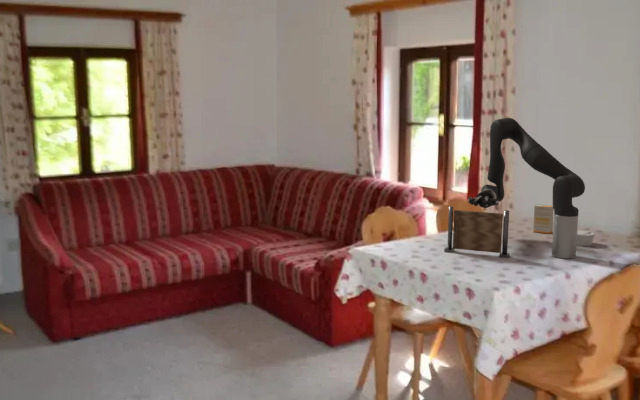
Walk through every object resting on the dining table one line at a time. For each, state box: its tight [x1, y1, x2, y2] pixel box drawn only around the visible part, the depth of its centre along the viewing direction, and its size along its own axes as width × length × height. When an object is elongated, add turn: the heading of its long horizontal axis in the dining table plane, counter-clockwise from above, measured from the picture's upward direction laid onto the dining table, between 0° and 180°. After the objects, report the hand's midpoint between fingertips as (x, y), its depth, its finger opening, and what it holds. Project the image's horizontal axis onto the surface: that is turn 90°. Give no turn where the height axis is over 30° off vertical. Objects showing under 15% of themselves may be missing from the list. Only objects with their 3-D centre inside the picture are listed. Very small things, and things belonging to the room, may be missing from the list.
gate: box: [452, 209, 504, 254], centre depth 274 cm, size 19×2×16 cm, turn 66°
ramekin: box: [576, 229, 596, 247], centre depth 294 cm, size 11×11×5 cm
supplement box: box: [532, 203, 554, 235], centre depth 318 cm, size 8×5×13 cm, turn 57°
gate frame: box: [443, 206, 511, 259], centre depth 274 cm, size 26×4×19 cm, turn 67°
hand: (479, 203), depth 278 cm, fingers open, 2 cm apart
